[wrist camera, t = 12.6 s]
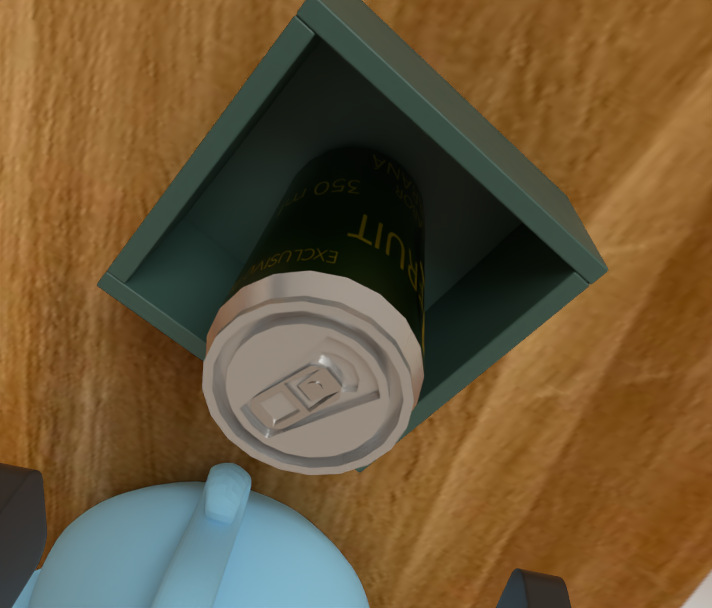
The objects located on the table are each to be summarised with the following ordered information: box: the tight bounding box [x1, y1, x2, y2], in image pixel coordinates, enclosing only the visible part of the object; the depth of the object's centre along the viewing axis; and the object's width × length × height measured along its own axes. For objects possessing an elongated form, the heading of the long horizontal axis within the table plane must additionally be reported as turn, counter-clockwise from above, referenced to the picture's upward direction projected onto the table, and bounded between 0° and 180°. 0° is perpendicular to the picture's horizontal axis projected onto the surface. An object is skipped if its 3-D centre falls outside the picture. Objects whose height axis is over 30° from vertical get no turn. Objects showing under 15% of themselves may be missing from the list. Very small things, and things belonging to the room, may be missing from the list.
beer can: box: [202, 147, 425, 475], centre depth 20 cm, size 5×5×12 cm
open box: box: [97, 0, 608, 472], centre depth 23 cm, size 11×11×6 cm
